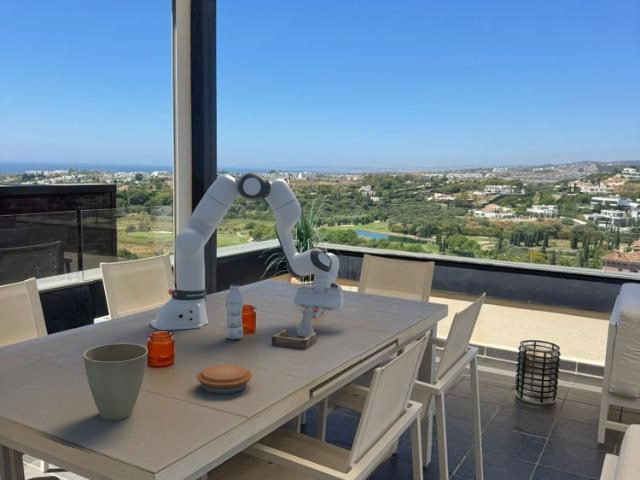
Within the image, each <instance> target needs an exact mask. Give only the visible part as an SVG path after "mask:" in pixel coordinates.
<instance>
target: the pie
mask: <svg viewBox="0 0 640 480" xmlns="http://www.w3.org/2000/svg"><path fill="white" fill-rule="evenodd" d="M252 376H253V375H252V372H251V371H250V370H249V369H246V368H245V367H244V368H243V367H242V366H238V365H232V364H220V365H214V366H209V367H207V368H205V369H203V370H200V372H198V373H197V374H196V380H197V381H198V382H199V383H200V385H201V386H202V388H203V389H204V390H205V391H206V392H208V393H210V394H214V395H231V394H237V393H240V392H241V391H243V390H244V389H245V387H246V386H247V384H248V382H250V380H251V378H252Z"/></svg>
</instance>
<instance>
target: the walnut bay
mask: <svg viewBox="0 0 640 480" xmlns="http://www.w3.org/2000/svg"><path fill="white" fill-rule="evenodd" d="M317 335H318V333H317V332H314V333H312V334H310V335H309V336H307V337H303V338H295V337H289V329H286V328H284V329H282V330H280V331H279V332H277V333H275V334H274V335H272V336H271V345H273V346H280V347H286V348H295V349H302V350H306V349H308V348H309V347H311V346H312V345H313V344H315V343H316V342H317V340H318V339H317Z"/></svg>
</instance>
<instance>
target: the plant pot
mask: <svg viewBox="0 0 640 480" xmlns="http://www.w3.org/2000/svg"><path fill="white" fill-rule="evenodd" d="M148 353H149V350H148V348H147V347H146V346H144V345H141V344H135V343H126V342H124V343H123V342H121V343H108V344H102V345H98V346H95V347H91V348H89V349H87V350H85V351H84V352H83V363H84V367H85V373H86V377H87V381H88V385H89V388H90V389H89V390H90V391H91V395H92V399H93V401H94V404H95V406H96V408H97V411H98V413H99V417H101V419H104V420H108V421H118V420H123V419H126V418H129V416H131V415H132V414H133V411H134V409H135V407H136V403H137V402H138V401H137V400H138V397H139V394H140V391H141V388H142V384H143V382H144V381H143V380H144V376H145V372H146V366H147V359H148Z"/></svg>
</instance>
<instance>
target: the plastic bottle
mask: <svg viewBox="0 0 640 480" xmlns="http://www.w3.org/2000/svg"><path fill="white" fill-rule="evenodd" d="M240 291H241V285H240V284H230V285H229V293H228V294H227V295H226V297H225V306H226V324H225V325H226V326H225V332H224V334H225V335H224V336H225V337H226V338H227V339H229V340H239V339H242V338H243V336H244V329H243V320H242V319H243V317H242V314H243V305H244V297H243V295H242V294H241V293H240Z"/></svg>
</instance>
